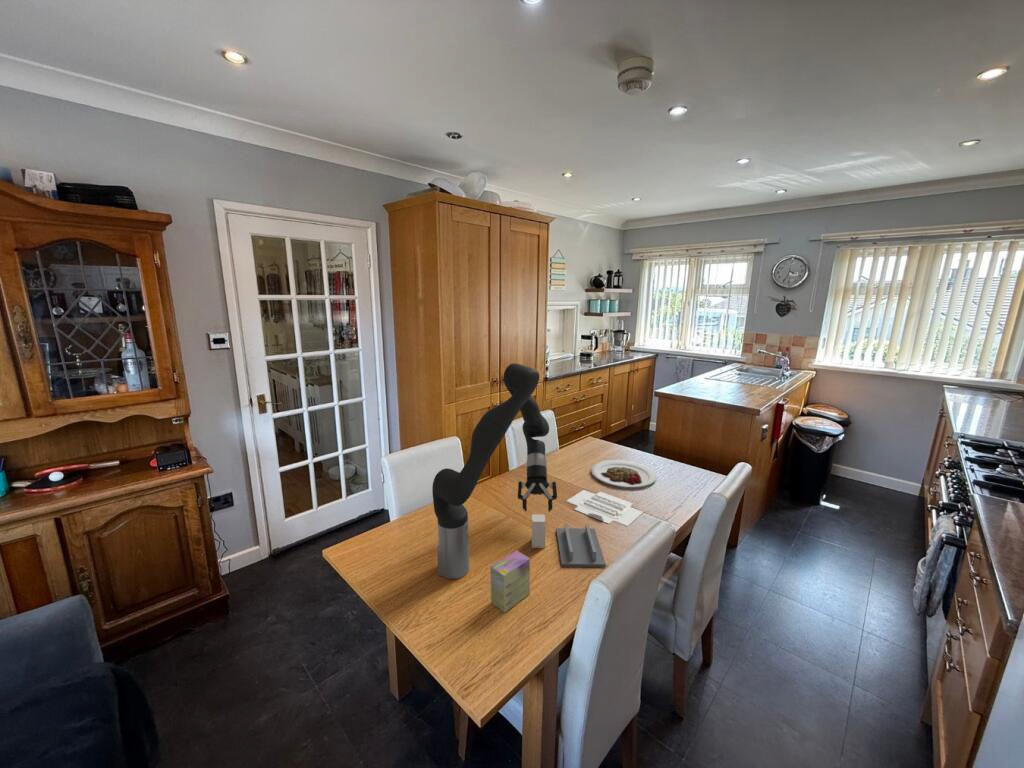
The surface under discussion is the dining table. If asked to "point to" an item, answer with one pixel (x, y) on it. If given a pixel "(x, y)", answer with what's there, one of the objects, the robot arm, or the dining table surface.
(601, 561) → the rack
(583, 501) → the tray
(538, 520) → the block
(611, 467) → the plated food
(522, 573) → the box
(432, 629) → the dining table surface
